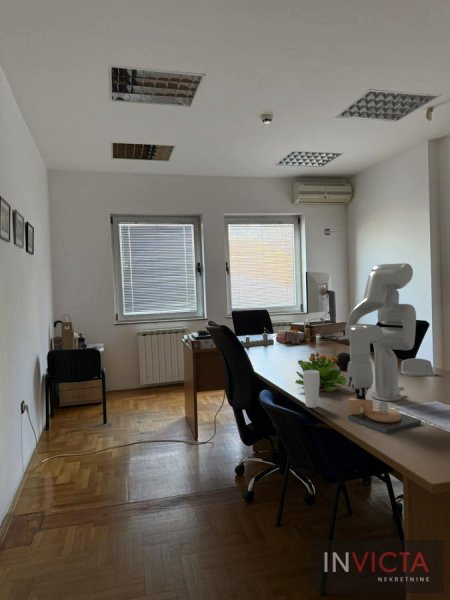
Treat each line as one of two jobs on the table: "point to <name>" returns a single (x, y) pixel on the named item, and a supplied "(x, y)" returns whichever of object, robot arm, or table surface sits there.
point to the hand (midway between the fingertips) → (361, 404)
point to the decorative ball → (343, 360)
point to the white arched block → (416, 367)
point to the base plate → (385, 426)
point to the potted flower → (323, 372)
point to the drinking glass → (311, 387)
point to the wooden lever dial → (373, 410)
